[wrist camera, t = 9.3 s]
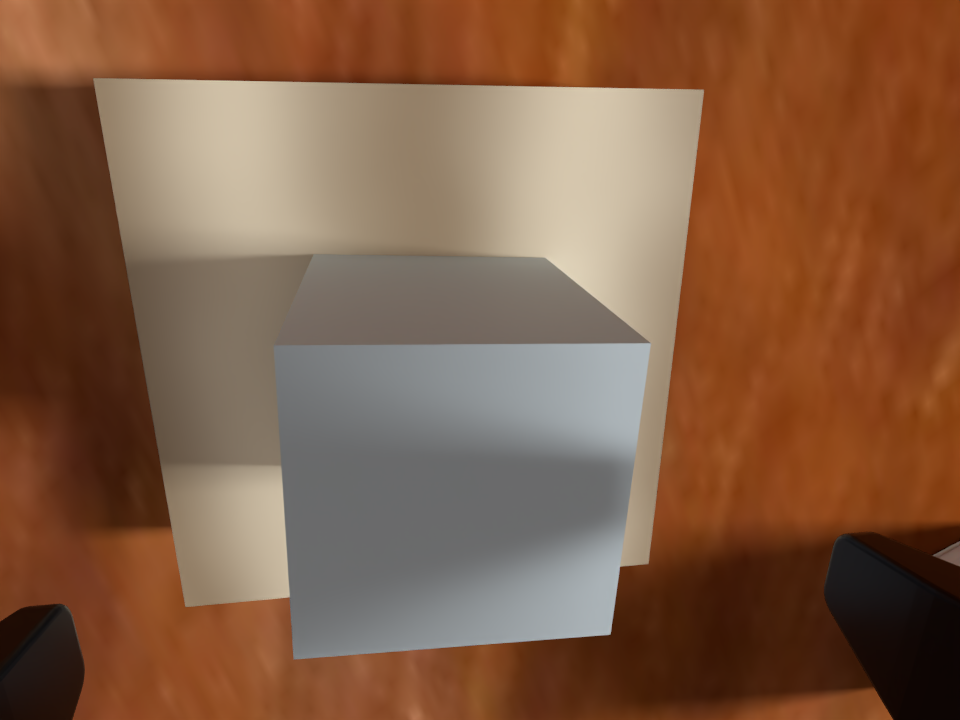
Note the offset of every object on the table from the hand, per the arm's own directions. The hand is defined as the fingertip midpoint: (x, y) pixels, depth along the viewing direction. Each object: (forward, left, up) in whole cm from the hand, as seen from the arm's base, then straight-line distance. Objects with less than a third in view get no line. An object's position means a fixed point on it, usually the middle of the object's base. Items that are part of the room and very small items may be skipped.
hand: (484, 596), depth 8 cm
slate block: (0, 0, -8) cm, 8 cm away
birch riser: (0, 0, -12) cm, 12 cm away
